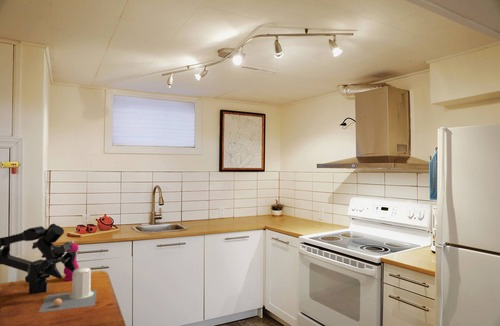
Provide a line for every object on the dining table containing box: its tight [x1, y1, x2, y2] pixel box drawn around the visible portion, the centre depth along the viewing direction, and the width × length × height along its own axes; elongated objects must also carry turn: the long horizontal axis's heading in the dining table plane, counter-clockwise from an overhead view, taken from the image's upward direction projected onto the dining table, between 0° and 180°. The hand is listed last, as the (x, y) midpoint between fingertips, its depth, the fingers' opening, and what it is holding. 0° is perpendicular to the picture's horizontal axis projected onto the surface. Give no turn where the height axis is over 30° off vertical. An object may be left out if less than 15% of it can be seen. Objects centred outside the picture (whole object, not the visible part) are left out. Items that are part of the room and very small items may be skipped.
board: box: [37, 289, 98, 313], centre depth 146 cm, size 20×20×1 cm
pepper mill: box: [63, 240, 80, 282], centre depth 177 cm, size 7×7×20 cm
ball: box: [54, 298, 62, 306], centre depth 139 cm, size 3×3×3 cm
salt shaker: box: [71, 267, 92, 298], centre depth 152 cm, size 7×7×11 cm
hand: (68, 275), depth 153 cm, fingers open, 9 cm apart
